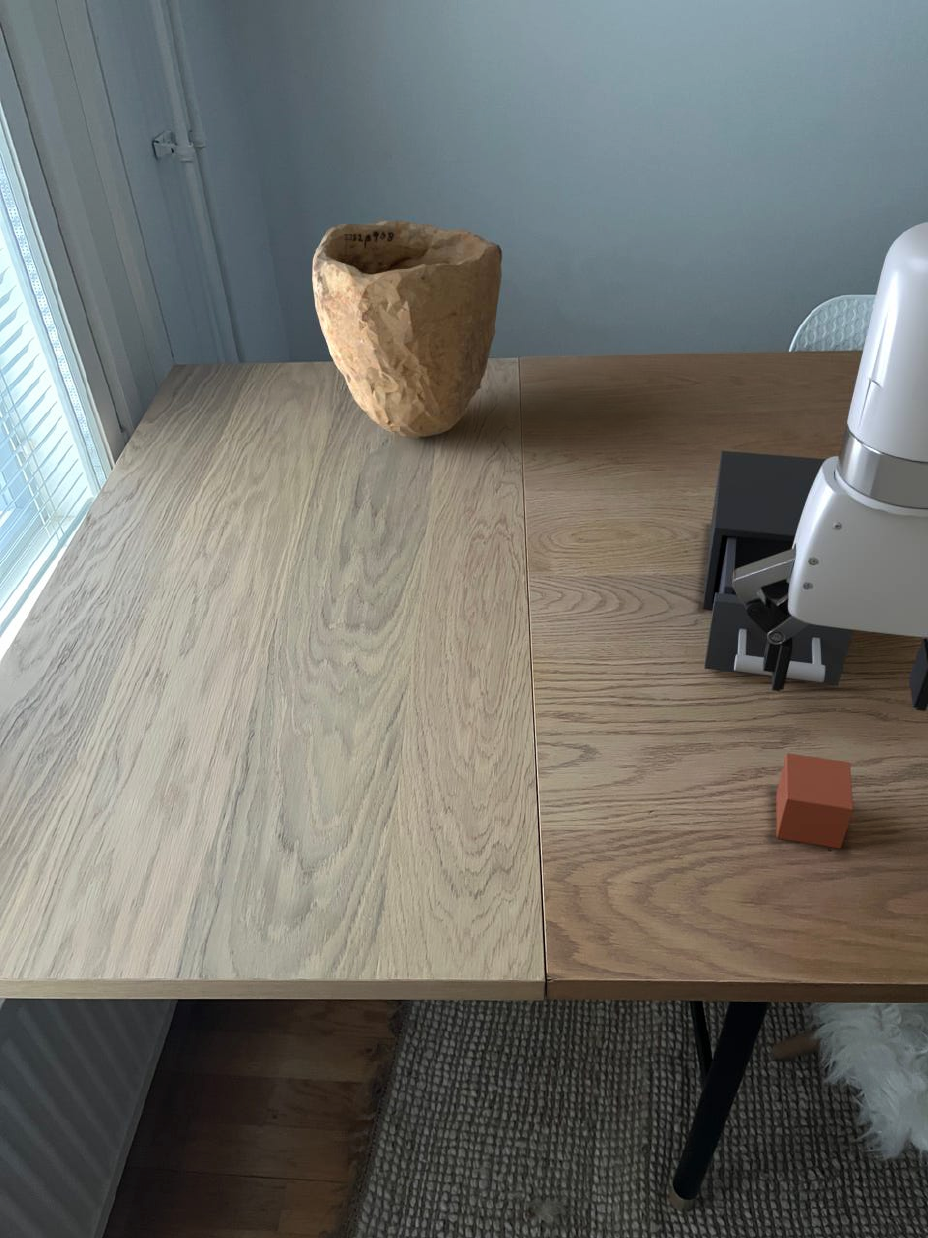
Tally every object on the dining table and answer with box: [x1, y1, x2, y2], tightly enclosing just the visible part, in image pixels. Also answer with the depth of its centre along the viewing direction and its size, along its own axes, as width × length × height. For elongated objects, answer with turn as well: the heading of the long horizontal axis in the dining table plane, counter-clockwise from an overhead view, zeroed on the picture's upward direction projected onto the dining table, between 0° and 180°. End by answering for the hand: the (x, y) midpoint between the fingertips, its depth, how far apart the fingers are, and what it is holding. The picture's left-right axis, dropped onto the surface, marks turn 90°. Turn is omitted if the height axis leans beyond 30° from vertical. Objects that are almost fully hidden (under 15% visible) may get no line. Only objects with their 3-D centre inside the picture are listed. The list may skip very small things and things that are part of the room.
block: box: [776, 753, 854, 850], centre depth 71 cm, size 5×5×5 cm
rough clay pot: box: [311, 219, 503, 439], centre depth 116 cm, size 22×22×25 cm
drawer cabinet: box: [702, 450, 828, 611], centre depth 94 cm, size 15×13×10 cm
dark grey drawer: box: [703, 536, 854, 687], centre depth 85 cm, size 18×11×8 cm, turn 166°
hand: (845, 686), depth 64 cm, fingers open, 8 cm apart
